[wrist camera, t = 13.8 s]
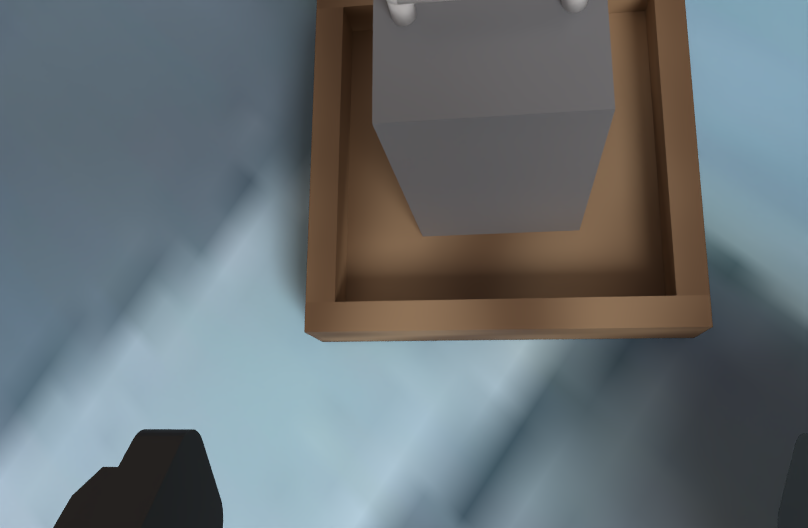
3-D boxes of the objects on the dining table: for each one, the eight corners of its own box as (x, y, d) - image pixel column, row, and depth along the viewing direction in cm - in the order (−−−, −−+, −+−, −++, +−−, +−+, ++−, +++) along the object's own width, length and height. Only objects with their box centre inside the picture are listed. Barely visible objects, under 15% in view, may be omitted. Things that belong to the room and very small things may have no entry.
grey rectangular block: (422, 236, 27) (360, 96, 16) (421, 95, 29) (362, -124, 18) (579, 230, 27) (624, 79, 16) (570, 85, 28) (606, -150, 17)
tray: (322, 341, 28) (304, 332, 25) (333, 20, 31) (317, -16, 28) (694, 337, 26) (712, 326, 24) (667, -3, 29) (681, -44, 27)
